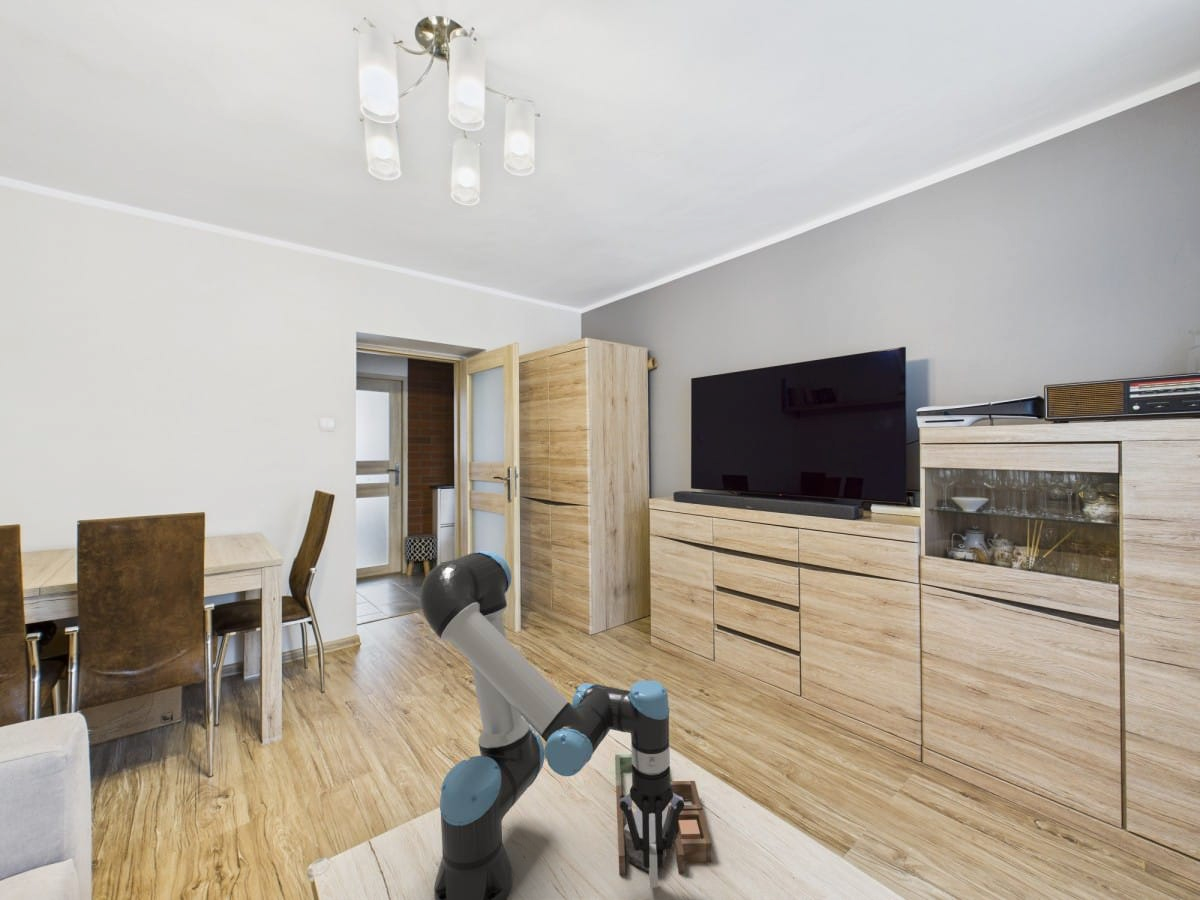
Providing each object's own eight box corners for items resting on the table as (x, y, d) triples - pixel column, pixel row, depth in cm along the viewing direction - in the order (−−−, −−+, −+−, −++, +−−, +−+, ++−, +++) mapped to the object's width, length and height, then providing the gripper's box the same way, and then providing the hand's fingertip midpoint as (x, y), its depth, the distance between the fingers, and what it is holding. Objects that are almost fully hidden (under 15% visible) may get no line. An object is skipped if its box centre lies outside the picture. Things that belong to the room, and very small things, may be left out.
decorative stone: (624, 877, 104) (673, 878, 102) (622, 843, 103) (671, 844, 102) (628, 823, 118) (671, 824, 117) (626, 794, 118) (669, 794, 117)
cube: (681, 852, 109) (681, 834, 109) (678, 837, 113) (678, 820, 113) (700, 851, 109) (700, 833, 109) (696, 837, 113) (696, 819, 113)
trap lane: (619, 874, 104) (618, 855, 104) (615, 769, 137) (615, 754, 137) (714, 873, 103) (714, 854, 103) (687, 767, 137) (687, 753, 137)
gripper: (618, 777, 96) (621, 898, 96) (686, 776, 96) (689, 898, 96) (617, 752, 104) (620, 865, 104) (681, 751, 103) (683, 865, 104)
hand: (653, 881), depth 100 cm, fingers closed
